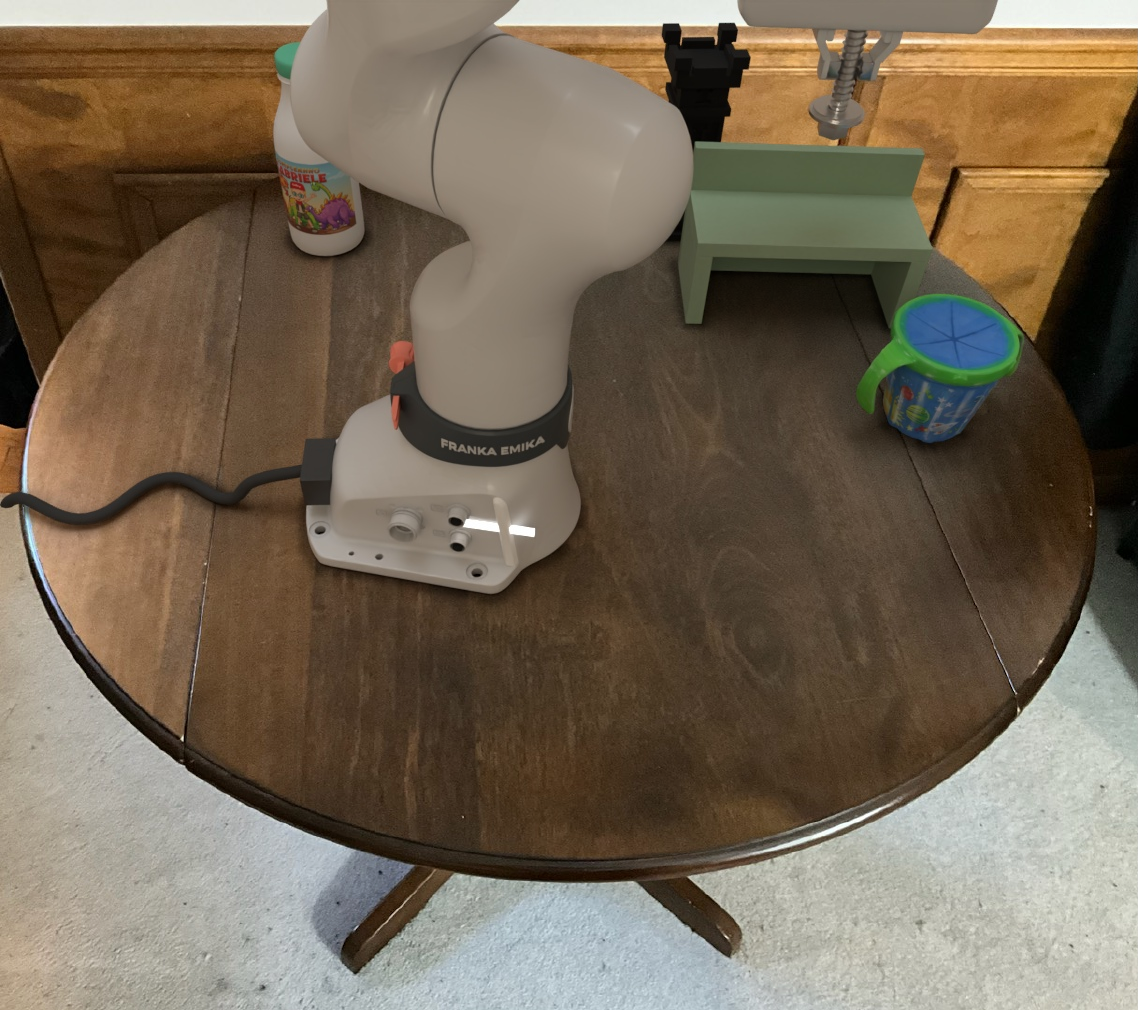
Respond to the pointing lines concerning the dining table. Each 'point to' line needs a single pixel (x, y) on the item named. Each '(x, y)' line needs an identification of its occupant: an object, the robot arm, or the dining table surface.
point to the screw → (841, 92)
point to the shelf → (804, 217)
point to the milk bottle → (312, 182)
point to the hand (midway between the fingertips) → (845, 77)
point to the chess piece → (702, 82)
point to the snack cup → (940, 364)
